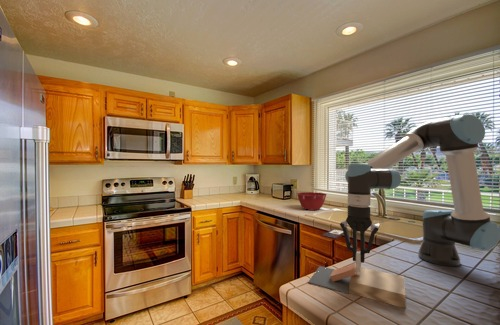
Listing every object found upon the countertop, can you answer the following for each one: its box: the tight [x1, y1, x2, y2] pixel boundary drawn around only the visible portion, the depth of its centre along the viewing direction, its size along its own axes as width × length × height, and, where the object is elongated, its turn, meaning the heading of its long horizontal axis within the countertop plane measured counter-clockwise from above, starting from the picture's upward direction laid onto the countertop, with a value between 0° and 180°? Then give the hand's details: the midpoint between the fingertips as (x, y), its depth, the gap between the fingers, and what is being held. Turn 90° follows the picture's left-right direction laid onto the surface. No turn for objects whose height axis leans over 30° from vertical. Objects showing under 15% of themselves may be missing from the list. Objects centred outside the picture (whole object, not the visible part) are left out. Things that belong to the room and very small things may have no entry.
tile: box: [330, 263, 357, 282], centre depth 87 cm, size 9×6×2 cm, turn 59°
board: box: [349, 267, 407, 309], centre depth 81 cm, size 16×14×4 cm
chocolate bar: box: [320, 228, 344, 240], centre depth 147 cm, size 9×1×18 cm
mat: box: [307, 265, 351, 295], centre depth 89 cm, size 14×16×1 cm
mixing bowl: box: [296, 191, 327, 211], centre depth 232 cm, size 28×28×16 cm
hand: (358, 270), depth 84 cm, fingers closed
